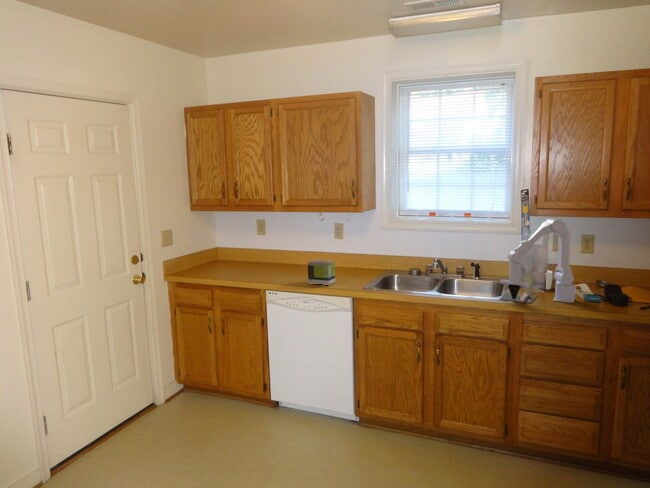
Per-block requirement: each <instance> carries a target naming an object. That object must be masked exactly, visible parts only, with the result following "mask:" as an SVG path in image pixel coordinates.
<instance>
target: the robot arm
mask: <svg viewBox="0 0 650 488" xmlns="http://www.w3.org/2000/svg"><path fill="white" fill-rule="evenodd" d="M552 233H554V234H556V236H557V237H558V238H557V239H558V243H557V266H556V267H555V270H554V273H553V278H554V280H555V291H554V298H553V299H552V301H554V302H561V303H569V304H570V303H572V304H573V303H574V302H575V299H576V284H573V282H574V279H575V278H574V275H573V271H572V268H571V267H570V248H571V247H570V244H571V242H570V241H571V240H570V239H571V233H570V230H569V229H568V227H567V225H566V223H565V222H564V221H562V220H561V219H555V218H552V217H549V218H547V219H545V220H544V221H543V222H542V223H541V225H540V226H539V227H538V228H537V229H536V230H535V232H534V233H533V234H531V236H530V237H529V238H528V239H524V240H521V241H520V244H519V245H518V246H516V248H514V249H513V250H511V251H510V252H509V253H508V255H507V259H508V261H509V263H508V264H509V266H508V272H509V273H508V279H500V284H502V285H503V284H504V285H507V288H508V290H509V293H511V296H512V299H516V297H517V294H519V291H520V289H521V288H522V287H523V288H525V289H526V288H527V289H529V288H530V283H528V282H523V281H521V279H522V278H521V276H522V275H521V274H522V262H523V261H524V257H525V256H526V255H527V254H528V253H529V252H530V251H531V250H532V249H533V248H534V244H535V243H536V242H538V241H539V240H540V239H541V238H542V237H543V236H544V235H546V234H552Z"/></svg>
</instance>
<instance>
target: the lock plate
mask: <svg viewBox="0 0 650 488" xmlns="http://www.w3.org/2000/svg"><path fill="white" fill-rule="evenodd" d="M522 295H523V293H518V294H517V297H516V299H512V296H511V292H505V293H504V294H503V295H502V296H501V297H500V298H499V300H500V301H507V302H517V303H520V302H519V297H521V296H522ZM536 298H537V295H531V296H530V298H527V299H526V300H525V301H524V302H522V303H523V304H524V303H525V304H533V302H534V301H535V299H536Z"/></svg>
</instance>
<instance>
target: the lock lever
mask: <svg viewBox="0 0 650 488" xmlns="http://www.w3.org/2000/svg"><path fill="white" fill-rule="evenodd" d="M522 294H523V295H522V296H521V297H519V302H518V303H523V302H524V301H525V300H526V299H527V298H530V296H531V292H523V293H522Z"/></svg>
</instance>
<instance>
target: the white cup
mask: <svg viewBox="0 0 650 488" xmlns="http://www.w3.org/2000/svg"><path fill="white" fill-rule="evenodd" d="M546 270H547V269H546ZM545 274H546V291H547V290H551V289H552V283H553V275H554V273H553V270H547V273H545Z"/></svg>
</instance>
